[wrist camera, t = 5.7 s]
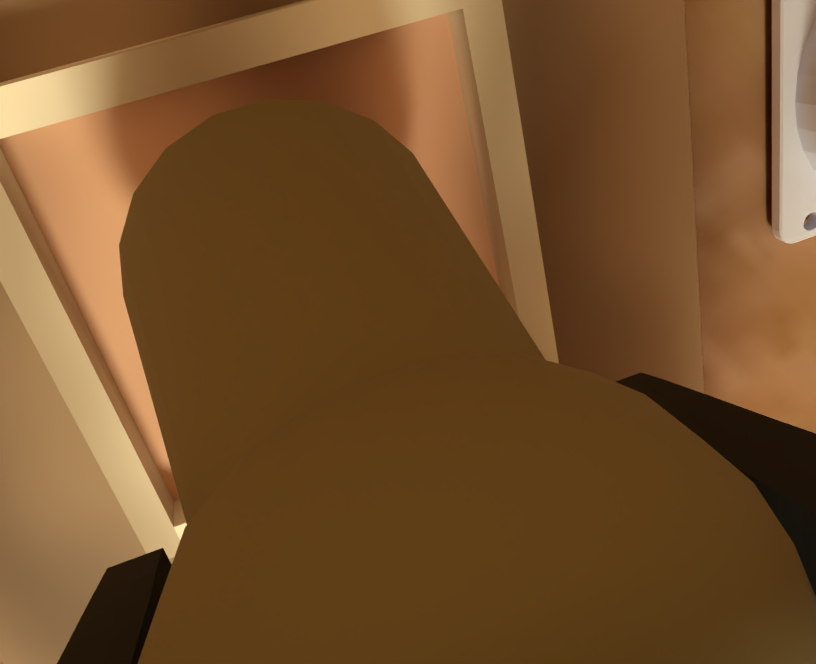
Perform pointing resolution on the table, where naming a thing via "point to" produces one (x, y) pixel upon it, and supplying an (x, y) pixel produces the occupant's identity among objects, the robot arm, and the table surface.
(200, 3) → the coaster board
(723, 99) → the table surface
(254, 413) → the cork
